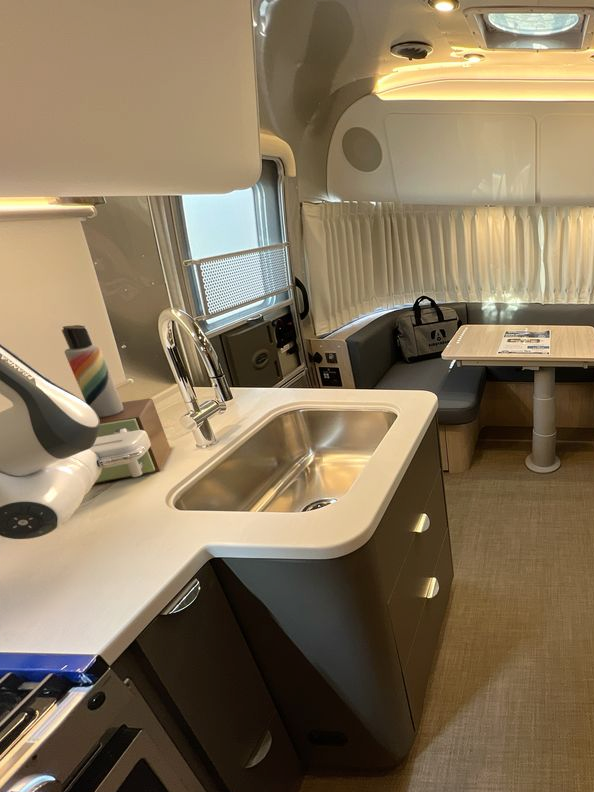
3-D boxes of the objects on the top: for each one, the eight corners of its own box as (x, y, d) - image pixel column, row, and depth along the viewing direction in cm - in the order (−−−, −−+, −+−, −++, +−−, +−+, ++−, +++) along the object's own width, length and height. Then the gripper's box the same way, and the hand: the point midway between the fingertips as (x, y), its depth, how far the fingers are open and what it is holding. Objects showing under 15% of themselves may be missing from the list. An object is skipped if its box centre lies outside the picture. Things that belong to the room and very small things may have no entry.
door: (74, 495, 101) (48, 441, 96) (83, 482, 106) (59, 430, 101) (149, 480, 107) (128, 427, 101) (155, 469, 111) (135, 418, 106)
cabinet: (83, 486, 107) (57, 429, 101) (101, 461, 117) (77, 408, 111) (159, 471, 112) (139, 416, 106) (170, 448, 122) (151, 397, 116)
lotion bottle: (91, 412, 109) (54, 325, 101) (123, 405, 112) (90, 320, 104) (91, 420, 105) (53, 330, 97) (125, 412, 108) (90, 325, 100)
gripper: (133, 441, 85) (151, 412, 97) (-24, 469, 77) (17, 434, 89) (145, 471, 88) (162, 440, 99) (-5, 502, 80) (32, 463, 91)
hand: (92, 437), depth 94 cm, fingers open, 8 cm apart
